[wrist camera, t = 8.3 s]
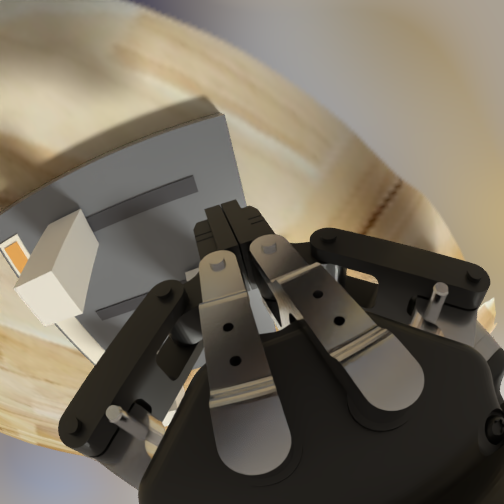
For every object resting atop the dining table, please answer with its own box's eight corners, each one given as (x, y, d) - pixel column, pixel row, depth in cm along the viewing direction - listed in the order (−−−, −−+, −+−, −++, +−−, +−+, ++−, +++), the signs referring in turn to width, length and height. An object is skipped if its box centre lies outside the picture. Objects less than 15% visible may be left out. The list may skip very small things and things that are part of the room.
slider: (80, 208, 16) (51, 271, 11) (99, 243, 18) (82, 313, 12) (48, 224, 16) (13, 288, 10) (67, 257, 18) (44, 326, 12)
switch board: (220, 112, 17) (225, 114, 16) (273, 330, 32) (278, 340, 31) (-7, 216, 15) (-16, 226, 14) (120, 379, 29) (121, 390, 28)
